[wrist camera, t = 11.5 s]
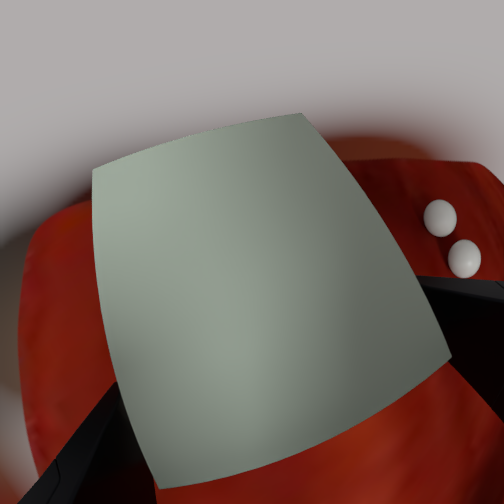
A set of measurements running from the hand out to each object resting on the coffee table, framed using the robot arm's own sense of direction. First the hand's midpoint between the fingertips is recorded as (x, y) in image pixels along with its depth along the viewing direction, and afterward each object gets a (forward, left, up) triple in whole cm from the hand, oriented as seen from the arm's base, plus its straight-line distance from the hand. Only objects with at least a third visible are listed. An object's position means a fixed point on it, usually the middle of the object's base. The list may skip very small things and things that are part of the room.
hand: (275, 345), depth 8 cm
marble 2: (-10, -14, -8) cm, 19 cm away
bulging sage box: (+2, -1, -7) cm, 8 cm away
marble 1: (-7, -16, -8) cm, 19 cm away
